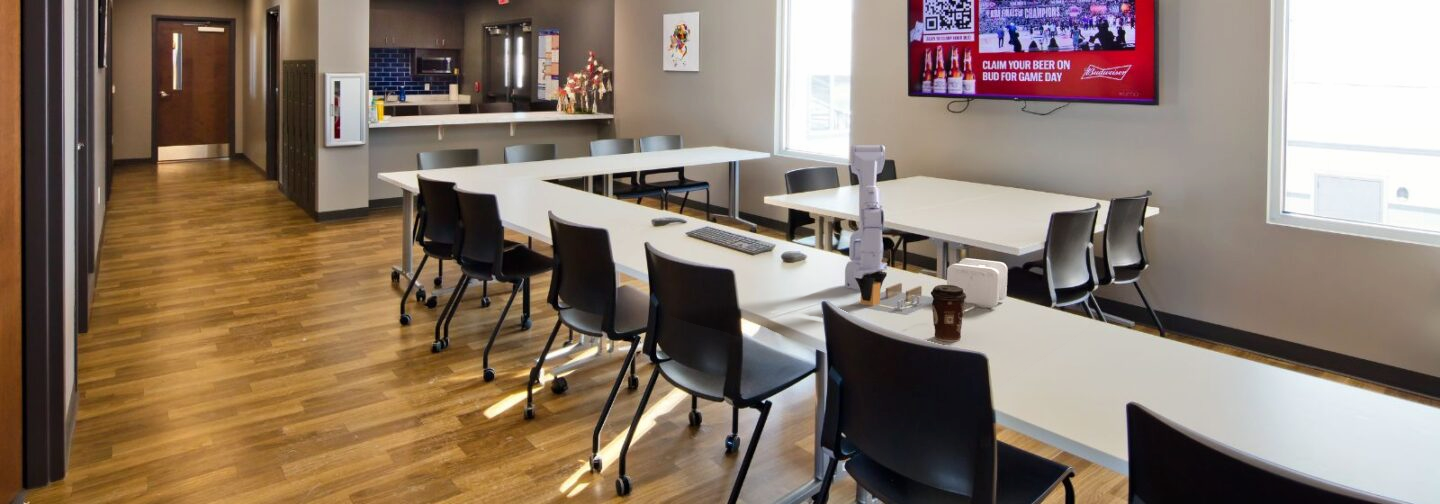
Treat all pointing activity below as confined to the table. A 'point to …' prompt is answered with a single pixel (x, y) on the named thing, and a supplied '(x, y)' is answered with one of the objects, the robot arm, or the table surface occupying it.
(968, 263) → the cable organizer
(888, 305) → the mat
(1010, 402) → the table surface
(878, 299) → the orange rectangular block
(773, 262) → the table surface
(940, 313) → the coffee cup
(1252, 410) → the table surface
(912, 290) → the end holder
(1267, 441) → the table surface
